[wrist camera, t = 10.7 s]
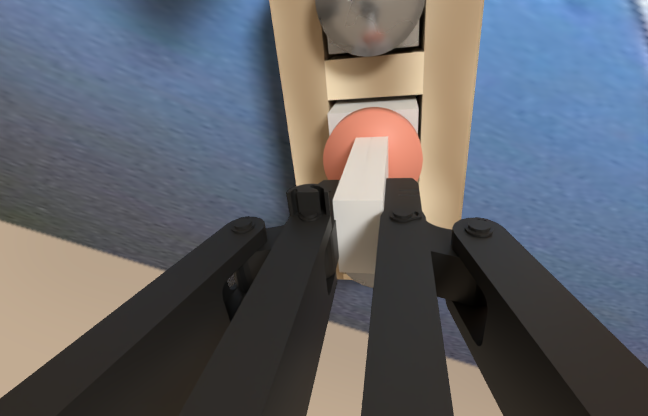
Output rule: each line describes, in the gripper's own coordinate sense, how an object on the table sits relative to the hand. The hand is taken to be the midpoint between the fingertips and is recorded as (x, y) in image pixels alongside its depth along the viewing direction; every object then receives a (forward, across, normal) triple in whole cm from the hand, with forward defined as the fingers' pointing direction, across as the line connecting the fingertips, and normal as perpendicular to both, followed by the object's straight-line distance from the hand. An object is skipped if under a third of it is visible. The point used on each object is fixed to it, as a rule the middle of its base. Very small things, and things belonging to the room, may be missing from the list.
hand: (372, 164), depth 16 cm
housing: (+8, 0, 0) cm, 8 cm away
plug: (+8, 0, +7) cm, 11 cm away
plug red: (+6, 0, 0) cm, 6 cm away
